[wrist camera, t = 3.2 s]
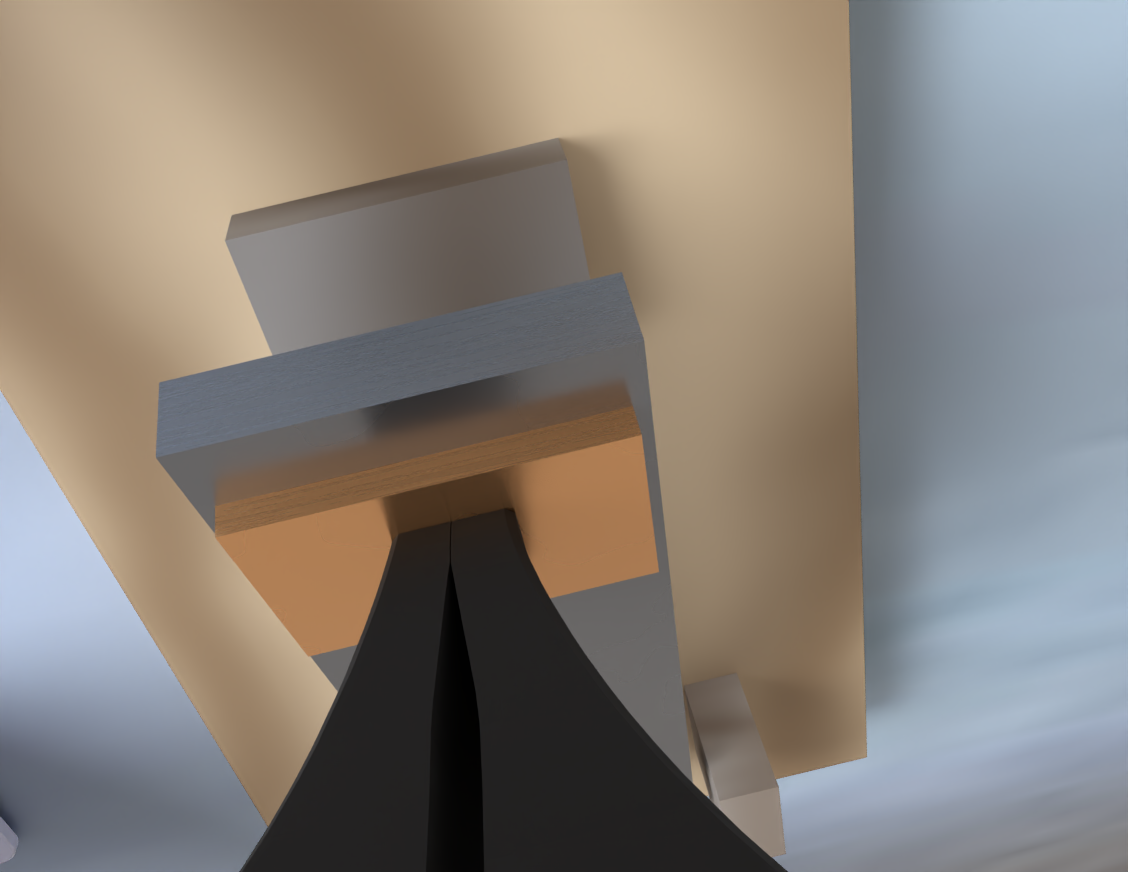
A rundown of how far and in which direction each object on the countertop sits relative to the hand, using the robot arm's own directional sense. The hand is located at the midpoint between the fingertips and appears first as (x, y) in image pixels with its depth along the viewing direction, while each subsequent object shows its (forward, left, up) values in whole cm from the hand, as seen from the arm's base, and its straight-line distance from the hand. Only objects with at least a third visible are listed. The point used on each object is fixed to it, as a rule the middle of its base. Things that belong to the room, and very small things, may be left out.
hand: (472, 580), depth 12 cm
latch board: (0, -3, -8) cm, 9 cm away
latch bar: (0, -4, -3) cm, 5 cm away
